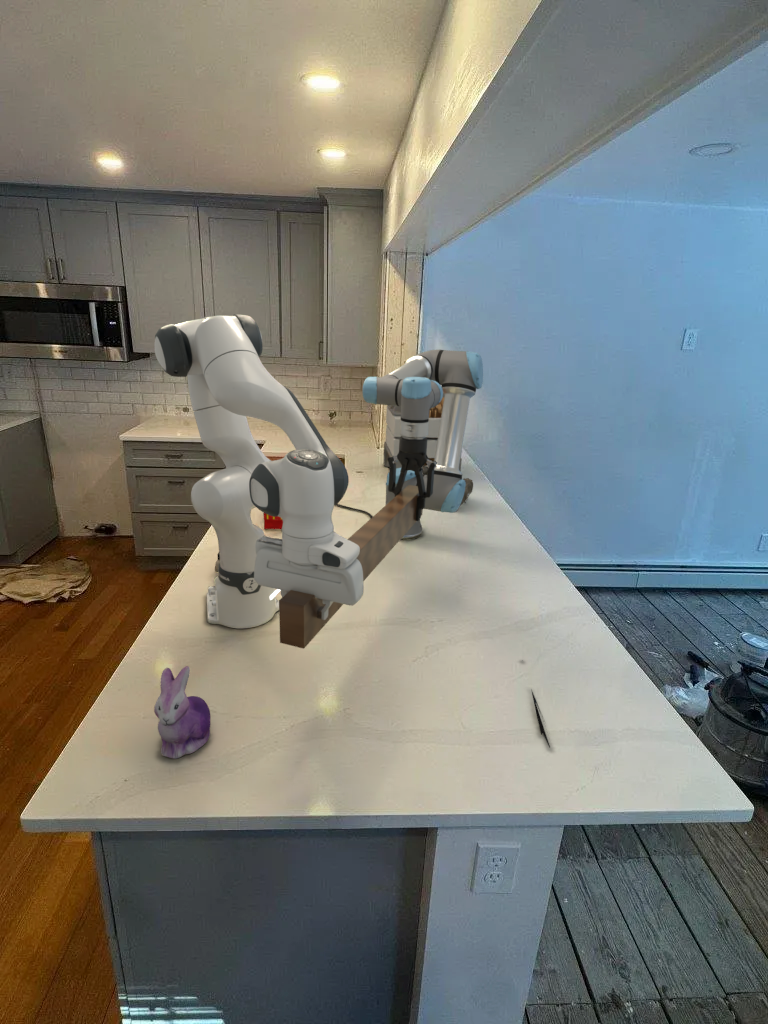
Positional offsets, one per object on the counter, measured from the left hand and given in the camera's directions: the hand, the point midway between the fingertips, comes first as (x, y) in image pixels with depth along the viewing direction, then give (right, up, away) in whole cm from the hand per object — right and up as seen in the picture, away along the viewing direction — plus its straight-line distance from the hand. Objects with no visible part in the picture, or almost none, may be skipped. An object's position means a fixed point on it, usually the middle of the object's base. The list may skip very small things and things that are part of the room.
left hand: (307, 614), depth 103 cm
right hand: (+21, +17, +57) cm, 63 cm away
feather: (+45, -20, +14) cm, 51 cm away
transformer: (+31, +37, +172) cm, 179 cm away
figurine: (-22, -23, -1) cm, 31 cm away
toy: (-24, +17, +108) cm, 112 cm away
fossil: (+44, +22, +132) cm, 141 cm away
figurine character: (-31, +1, +65) cm, 72 cm away
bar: (+10, +7, +29) cm, 32 cm away
